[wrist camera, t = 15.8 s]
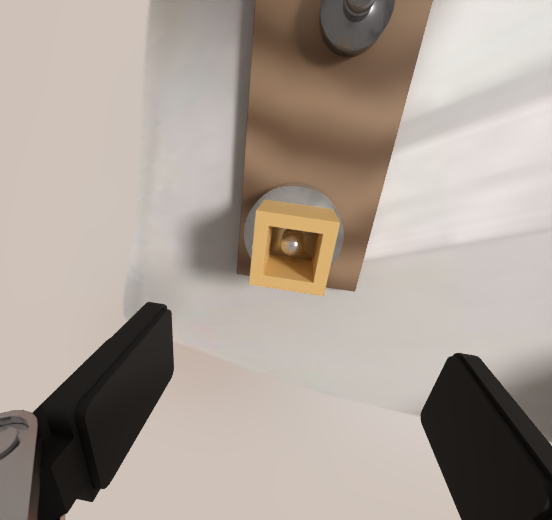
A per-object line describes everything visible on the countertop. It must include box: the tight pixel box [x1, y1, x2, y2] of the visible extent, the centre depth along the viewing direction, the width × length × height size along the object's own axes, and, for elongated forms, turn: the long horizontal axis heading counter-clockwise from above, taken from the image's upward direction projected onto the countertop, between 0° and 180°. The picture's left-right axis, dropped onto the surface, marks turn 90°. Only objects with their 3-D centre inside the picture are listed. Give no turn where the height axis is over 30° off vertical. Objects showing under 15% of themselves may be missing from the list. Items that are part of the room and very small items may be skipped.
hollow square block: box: [249, 200, 340, 296], centre depth 22 cm, size 6×6×4 cm
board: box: [237, 0, 433, 291], centre depth 24 cm, size 29×13×2 cm, turn 173°
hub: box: [244, 182, 344, 267], centre depth 24 cm, size 9×9×6 cm
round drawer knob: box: [319, 0, 395, 57], centre depth 18 cm, size 5×5×4 cm
